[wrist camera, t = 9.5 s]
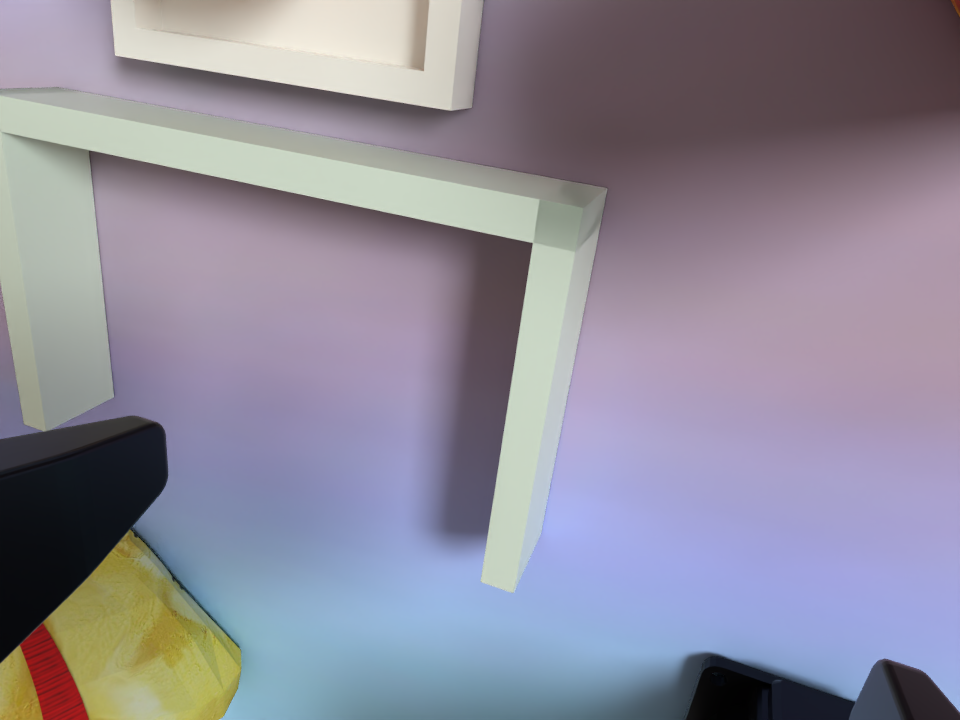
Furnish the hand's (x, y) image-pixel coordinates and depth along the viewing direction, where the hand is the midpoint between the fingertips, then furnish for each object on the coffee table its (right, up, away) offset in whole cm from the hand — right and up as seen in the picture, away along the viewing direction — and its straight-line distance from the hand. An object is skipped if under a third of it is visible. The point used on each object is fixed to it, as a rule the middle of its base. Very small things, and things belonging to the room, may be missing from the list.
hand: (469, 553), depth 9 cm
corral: (-6, +4, +14) cm, 16 cm away
